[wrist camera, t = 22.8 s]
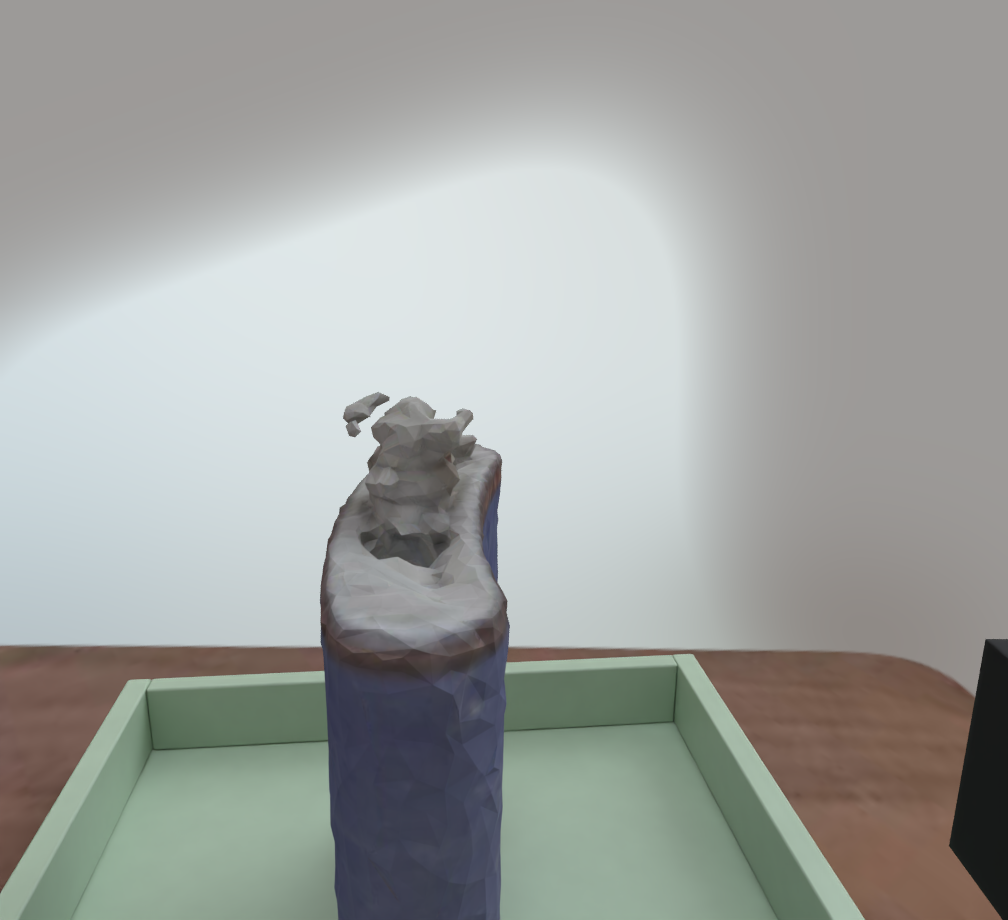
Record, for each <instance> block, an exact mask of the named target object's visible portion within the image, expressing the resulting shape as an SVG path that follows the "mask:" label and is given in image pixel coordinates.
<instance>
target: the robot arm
mask: <svg viewBox="0 0 1008 920" xmlns="http://www.w3.org/2000/svg"><path fill="white" fill-rule="evenodd" d="M949 846H950V848H951V849H952V850H953V852H954V853H955V855H956V856H957V857H958V859H959V860H960V861H961V863H962V864H963V866H964V867H965V868H966V870H967V871H968V872H969V874H970V875H971V877H972V878H973V879H974V881H975V882H976V884H977V885H978V886H979V888H980V889H981V890H982V892H983V893H984V895H985V896H986V897H987V899H988V900H989V901H990V903H991V904H992V906H993V907H994V908H995V910H996V911H997V912H998V914H999V915H1000V917H1001V918H1002V919H1003V920H1008V639H986V640H985V646H984V651H983V657H982V663H981V668H980V674H979V680H978V686H977V691H976V697H975V702H974V708H973V714H972V719H971V725H970V731H969V736H968V742H967V748H966V753H965V759H964V765H963V770H962V776H961V782H960V787H959V793H958V799H957V804H956V810H955V815H954V821H953V827H952V832H951V838H950V844H949Z"/></svg>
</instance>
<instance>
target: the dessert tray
mask: <svg viewBox="0 0 1008 920" xmlns="http://www.w3.org/2000/svg"><path fill="white" fill-rule="evenodd" d="M504 682H505V692H506V702H507V704H506V709H505V714H504V748H503V776H502V802H503V809H502V821H501V845H500V854H501V894H500V920H865V919H864V918H863V916H862V914H861V913H860V911H859V910H858V908H857V907H856V905H855V904H854V902H853V901H852V899H851V897H850V896H849V894H848V893H847V891H846V890H845V888H844V887H843V885H842V884H841V882H840V881H839V879H838V877H837V876H836V874H835V873H834V871H833V870H832V868H831V867H830V865H829V864H828V862H827V860H826V859H825V857H824V856H823V854H822V853H821V851H820V850H819V848H818V847H817V845H816V844H815V842H814V840H813V839H812V837H811V836H810V834H809V833H808V831H807V830H806V828H805V827H804V825H803V823H802V822H801V820H800V819H799V817H798V816H797V814H796V813H795V811H794V810H793V808H792V807H791V805H790V803H789V802H788V800H787V799H786V797H785V796H784V794H783V793H782V791H781V790H780V788H779V786H778V785H777V783H776V782H775V780H774V779H773V777H772V776H771V774H770V773H769V771H768V770H767V768H766V766H765V765H764V763H763V762H762V760H761V759H760V757H759V756H758V754H757V753H756V751H755V750H754V748H753V746H752V745H751V743H750V742H749V740H748V739H747V737H746V736H745V734H744V733H743V731H742V729H741V728H740V726H739V725H738V723H737V722H736V720H735V719H734V717H733V716H732V714H731V713H730V711H729V709H728V708H727V706H726V705H725V703H724V702H723V700H722V699H721V697H720V696H719V694H718V692H717V691H716V689H715V688H714V686H713V685H712V683H711V682H710V680H709V679H708V677H707V676H706V674H705V672H704V671H703V669H702V668H701V666H700V665H699V663H698V662H697V660H696V659H695V657H694V655H693V654H678V655H673V656H671V655H663V656H642V657H620V658H598V659H576V660H555V661H533V662H511V663H506V669H505V677H504ZM328 761H329V747H328V729H327V709H326V691H325V672H324V671H315V672H294V673H272V674H250V675H228V676H206V677H185V678H163V679H153V680H152V681H151V680H150V679H140V680H129V681H128V682H127V684H126V685H125V687H124V689H123V690H122V692H121V693H120V695H119V697H118V698H117V700H116V702H115V703H114V705H113V707H112V708H111V710H110V712H109V713H108V715H107V717H106V718H105V720H104V722H103V723H102V725H101V727H100V728H99V730H98V732H97V733H96V735H95V737H94V738H93V740H92V742H91V743H90V745H89V747H88V748H87V750H86V752H85V753H84V755H83V757H82V758H81V760H80V762H79V763H78V765H77V767H76V768H75V770H74V772H73V773H72V775H71V777H70V778H69V780H68V782H67V783H66V785H65V787H64V788H63V790H62V792H61V793H60V795H59V797H58V798H57V800H56V802H55V803H54V805H53V807H52V808H51V810H50V812H49V813H48V815H47V817H46V818H45V820H44V821H43V823H42V825H41V826H40V828H39V830H38V831H37V833H36V835H35V836H34V838H33V840H32V841H31V843H30V845H29V846H28V848H27V850H26V851H25V853H24V855H23V856H22V858H21V860H20V861H19V863H18V865H17V866H16V868H15V870H14V871H13V873H12V875H11V876H10V878H9V880H8V881H7V883H6V885H5V886H4V888H3V890H2V891H1V893H0V920H338V908H337V899H336V894H335V889H334V884H335V841H334V837H333V833H332V829H331V825H330V792H329V765H328Z"/></svg>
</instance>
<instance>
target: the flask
mask: <svg viewBox="0 0 1008 920" xmlns="http://www.w3.org/2000/svg"><path fill="white" fill-rule="evenodd" d="M387 401H389V397H388V396H386V395H384V394H381V393H379V392H377V393H375V394H372V395H369V396H366V397H364V398H363V399H361V400H359V401H357V402H355V403H353V404H351V405H349V406H347V407H346V409H345V412H344V416H343V419H345V421H346V422H348V424H347V425H346V428H347V431H348V434H349V436H352V437H356V436H357V435H358V434H359V433H360V432H361V430H360V428H359V426H358V423H360V422H361V421H363V420H364V419H366V418H368V417H370V415H371V413H372V412H373V411H374V409H375V408H376V407H377V406H379V405H381V404H383V403H385V402H387ZM435 412H436V410H433V409H432V408H431V407H430V406H429V405H428V404H427V403H425V402H423V401H422V400H420V399H419V398H417V397H407V398H404V399H401V400H400V402H398V403H397V404H396V405H395V406H393V407H392V408H390V409H389V410H388V411H387V412H385V416H383V417H381V418H380V419H379V420H378V421H377V422H376V423H375V424H374V425H373V426H372V427H371V429H372V433H373V437H374V438H375V439H376V440H377V441H378V442H379V443H380V446H378V447H377V449H376V450H375V452H374V454H373V455H372V456H371V457H370V459H369V460H368V462H367V463H368V468H369V474H368V475H367V476H366V477H365V478H364V479H363V480H362V481H361V482H360V483H359V485H358V486H357V487H356V489H355V490H354V491H353V493H352V494H351V495H350V496H349V497H348V499H347V501H346V504H345V505H343V506H342V507H340V512H339V515H338V518H337V519H336V521H335V523H334V526H333V530H332V534H331V536H330V538H329V539H328V544H327V551H326V559H325V562H324V566H323V575H322V581H321V594H320V604H321V645H322V648H323V656H324V672H325V691H326V709H327V729H328V747H329V761H328V765H329V792H330V825H331V829H332V833H333V837H334V841H335V884H334V889H335V894H336V899H337V908H338V920H500V894H501V854H500V845H501V821H502V809H503V802H502V776H503V748H504V714H505V709H506V704H507V702H506V692H505V682H504V677H505V669H506V661H507V653H508V644H509V628H510V625H509V622H508V617H507V613H506V611H507V599H506V597H505V595H504V593H503V591H502V590H501V588H500V586H499V585H498V583H497V579H498V566H497V565H498V564H497V524H498V514H497V509H498V502H499V496H500V486H501V465H502V459H501V456H500V454H498V453H497V452H496V451H494V450H491V449H487V448H484V447H482V446H481V445H478V444H475V442H476V440H477V439H476V438H475V437H474V436H473V435H462V432H463V431H464V429H465V428H466V427H467V426H468V424H469V423H470V422H471V421H472V420H473V413H472V412H471V411H470V410H466V409H460V410H458V411H457V416H455V417H454V418H452V419H434V416H435Z"/></svg>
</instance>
